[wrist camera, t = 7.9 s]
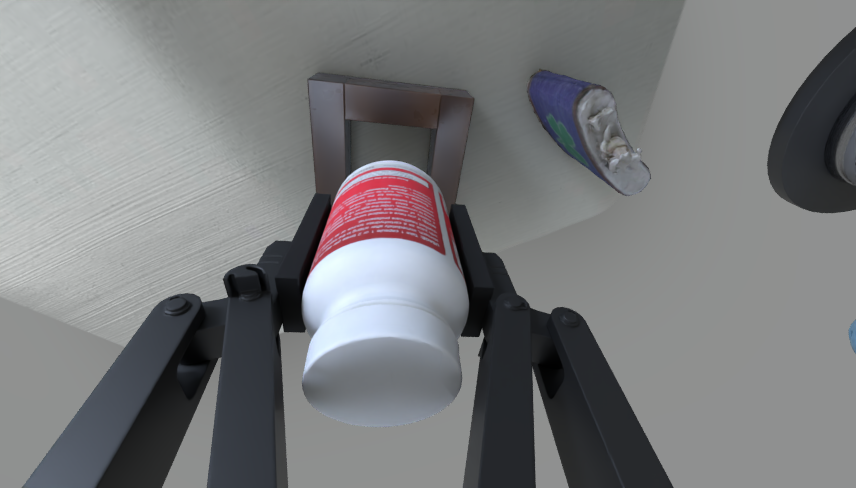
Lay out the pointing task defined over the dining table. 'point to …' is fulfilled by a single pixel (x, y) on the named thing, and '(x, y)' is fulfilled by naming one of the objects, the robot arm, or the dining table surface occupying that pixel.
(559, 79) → the flask
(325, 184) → the socket base
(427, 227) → the pill bottle
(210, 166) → the dining table surface
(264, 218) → the dining table surface
